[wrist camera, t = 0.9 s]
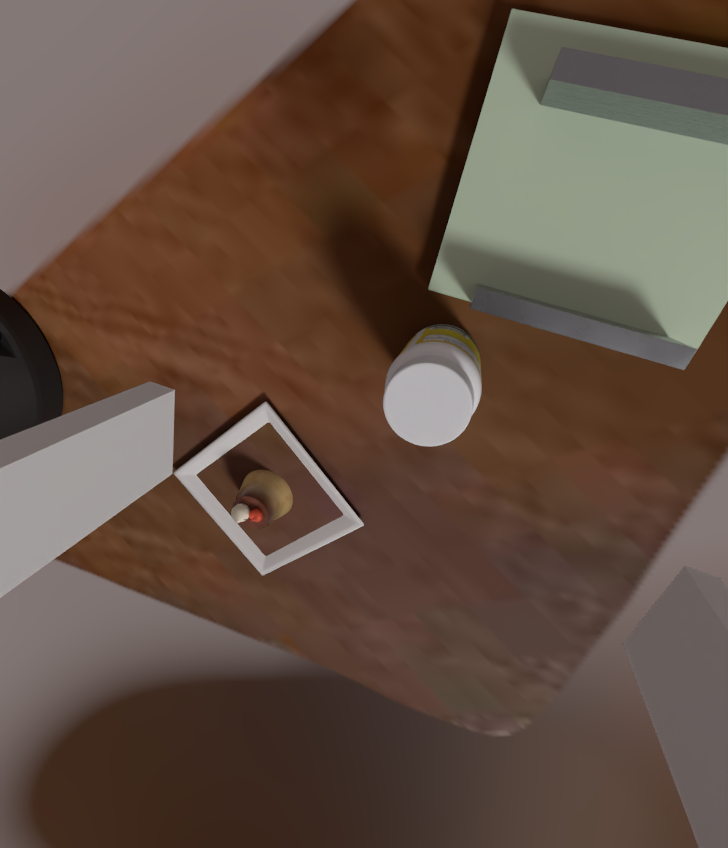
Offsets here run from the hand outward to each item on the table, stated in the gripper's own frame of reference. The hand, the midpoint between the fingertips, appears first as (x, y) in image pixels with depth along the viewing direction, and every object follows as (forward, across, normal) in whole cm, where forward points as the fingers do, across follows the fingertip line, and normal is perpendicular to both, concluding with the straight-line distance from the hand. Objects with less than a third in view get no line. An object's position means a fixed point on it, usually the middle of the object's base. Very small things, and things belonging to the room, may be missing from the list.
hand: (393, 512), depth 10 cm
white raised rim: (+17, -10, -15) cm, 25 cm away
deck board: (+16, +5, +10) cm, 20 cm away
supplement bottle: (+17, 0, 0) cm, 17 cm away
